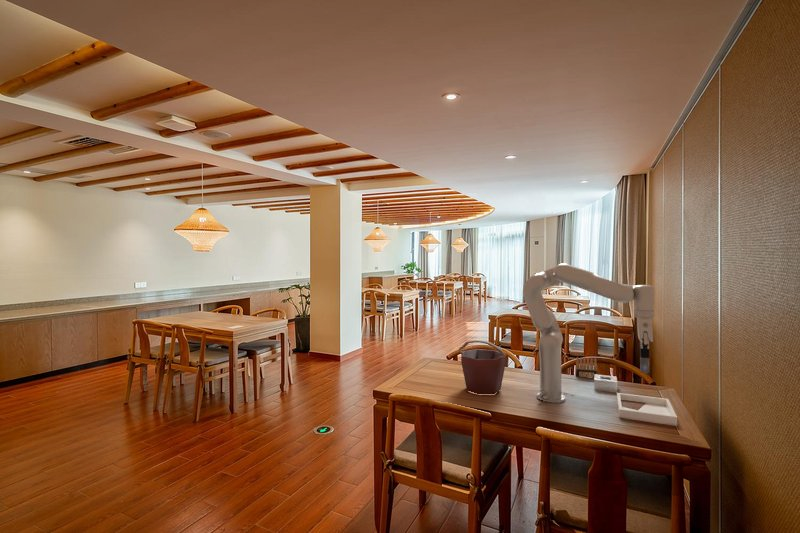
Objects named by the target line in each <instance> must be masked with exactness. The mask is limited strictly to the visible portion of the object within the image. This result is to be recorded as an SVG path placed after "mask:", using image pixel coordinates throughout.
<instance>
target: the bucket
mask: <svg viewBox="0 0 800 533" xmlns="http://www.w3.org/2000/svg"><path fill="white" fill-rule="evenodd" d="M472 343H479V344H486V345H489V346H490V347H492V348H494V349H495V350H493V349H485V348H484V349H482V348H474V349H468V350H463V349H465V348H466V347H467V346H468V345H469V344H472ZM462 350H463V351H462ZM458 351H459V352H458V353H460V354H461V358H460V359H461V362H460V363H461V366H462V374H463V376H464V384H465V388H466V391H467V390H468V391H471V392H474V393H477V394H495V393H496V392H498V391H499V390H500V391H501V389H502V384H503V379H504V373H505V369H506V362H507V354H506V353H505V351H504V350H503V349H502V348H501V347H499V346H498V345H496V344H494V343H493V342H491V341H485V340H470V341H466V342H465V343H464V344H463V345H462V346H460V347H459V348H458Z"/></svg>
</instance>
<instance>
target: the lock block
mask: <svg viewBox="0 0 800 533" xmlns="http://www.w3.org/2000/svg"><path fill="white" fill-rule="evenodd" d="M593 374H594V373H593ZM593 379H594V380H593V381H594V384H593V385H594V387H593V388H594V389H593V390H594V391H600V392H601V391H602V392H608V393H609V392H610V393H616V394H617V393H618V378H617V376H613V375H605V374H598V373H597V374H594V378H593Z"/></svg>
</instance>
